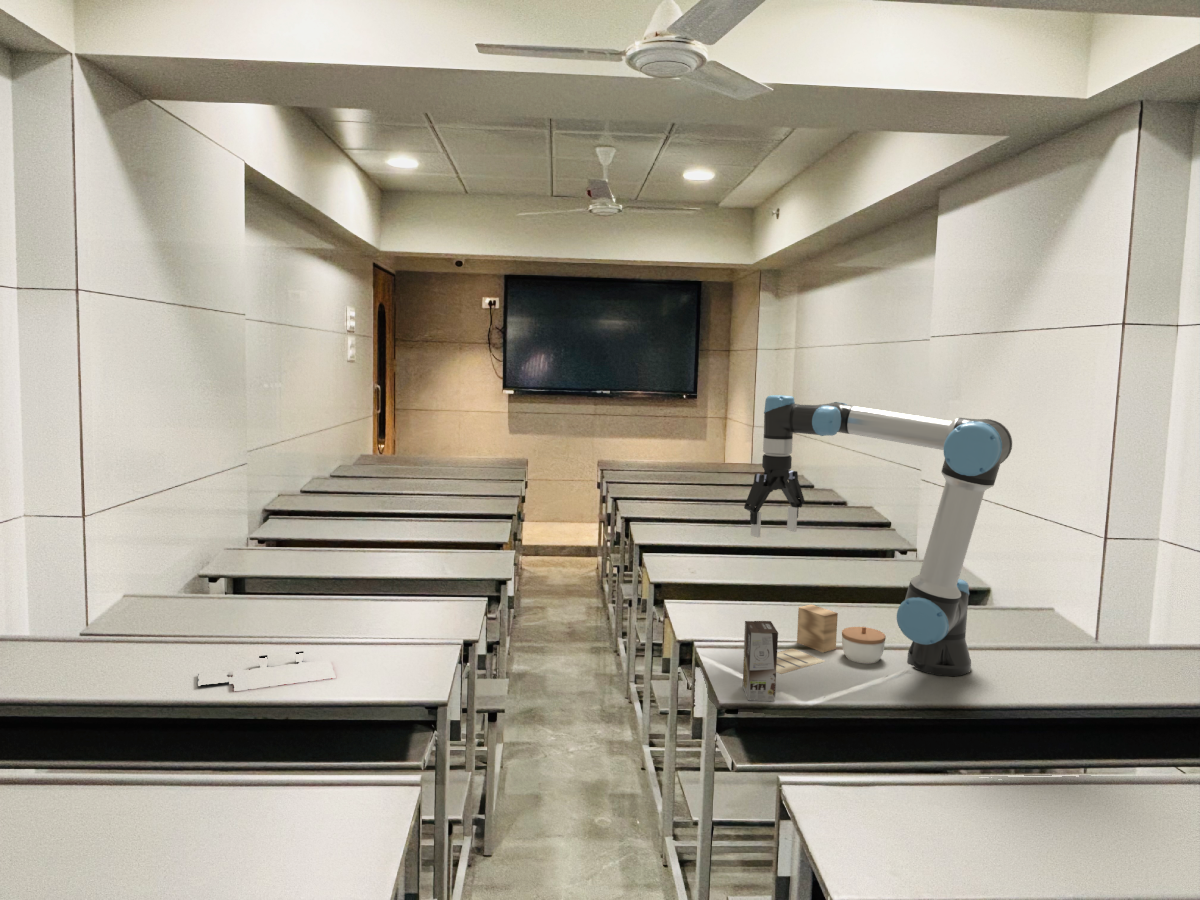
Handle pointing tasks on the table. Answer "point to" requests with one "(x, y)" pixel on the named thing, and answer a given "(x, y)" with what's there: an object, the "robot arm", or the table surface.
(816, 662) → the board
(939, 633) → the robot arm
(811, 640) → the block
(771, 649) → the coffee box
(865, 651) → the lidded jar
